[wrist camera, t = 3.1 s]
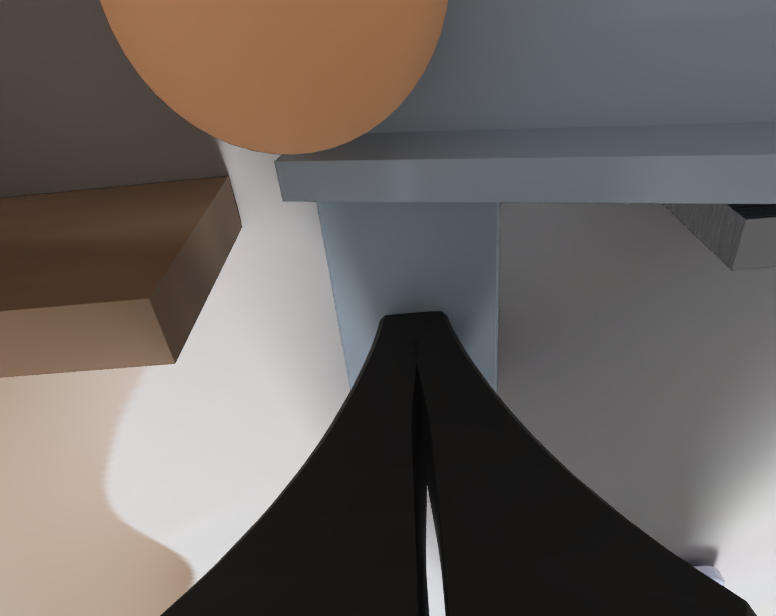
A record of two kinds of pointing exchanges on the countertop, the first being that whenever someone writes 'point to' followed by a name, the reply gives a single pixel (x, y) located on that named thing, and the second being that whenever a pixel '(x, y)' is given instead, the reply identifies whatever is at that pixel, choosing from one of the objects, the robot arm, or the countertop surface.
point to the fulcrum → (733, 231)
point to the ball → (279, 64)
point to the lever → (537, 146)
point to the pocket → (109, 273)
